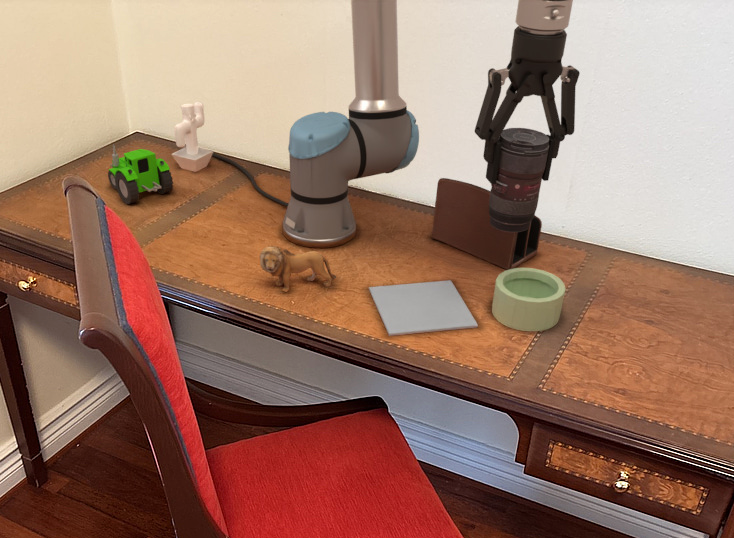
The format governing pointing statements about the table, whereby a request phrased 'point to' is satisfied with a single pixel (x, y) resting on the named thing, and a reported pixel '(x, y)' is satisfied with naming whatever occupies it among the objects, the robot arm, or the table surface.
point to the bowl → (528, 299)
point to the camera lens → (518, 179)
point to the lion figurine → (293, 265)
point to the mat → (421, 307)
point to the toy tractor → (139, 174)
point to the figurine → (191, 139)
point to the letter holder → (479, 226)
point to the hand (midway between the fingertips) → (516, 178)
